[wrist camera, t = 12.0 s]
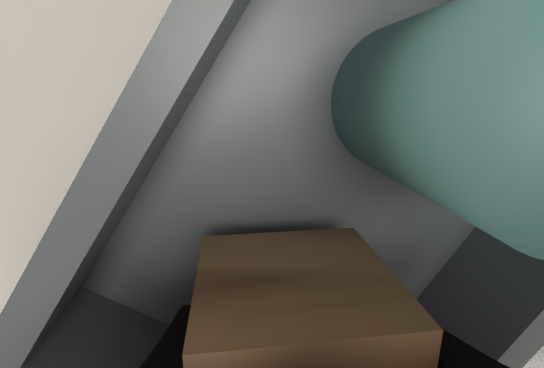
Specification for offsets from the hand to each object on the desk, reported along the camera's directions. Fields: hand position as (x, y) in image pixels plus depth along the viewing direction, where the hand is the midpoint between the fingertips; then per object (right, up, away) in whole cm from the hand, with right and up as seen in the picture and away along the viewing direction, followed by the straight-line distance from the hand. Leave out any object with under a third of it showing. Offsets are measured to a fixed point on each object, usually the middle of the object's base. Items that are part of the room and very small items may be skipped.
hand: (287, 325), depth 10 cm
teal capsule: (+4, +7, +1) cm, 8 cm away
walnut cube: (0, 0, +1) cm, 1 cm away
